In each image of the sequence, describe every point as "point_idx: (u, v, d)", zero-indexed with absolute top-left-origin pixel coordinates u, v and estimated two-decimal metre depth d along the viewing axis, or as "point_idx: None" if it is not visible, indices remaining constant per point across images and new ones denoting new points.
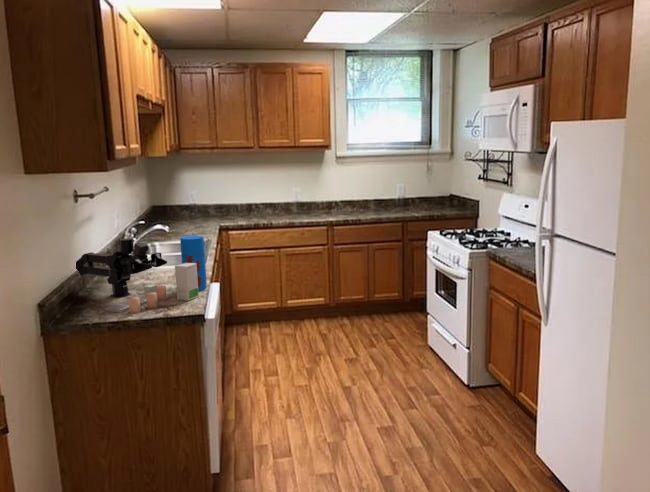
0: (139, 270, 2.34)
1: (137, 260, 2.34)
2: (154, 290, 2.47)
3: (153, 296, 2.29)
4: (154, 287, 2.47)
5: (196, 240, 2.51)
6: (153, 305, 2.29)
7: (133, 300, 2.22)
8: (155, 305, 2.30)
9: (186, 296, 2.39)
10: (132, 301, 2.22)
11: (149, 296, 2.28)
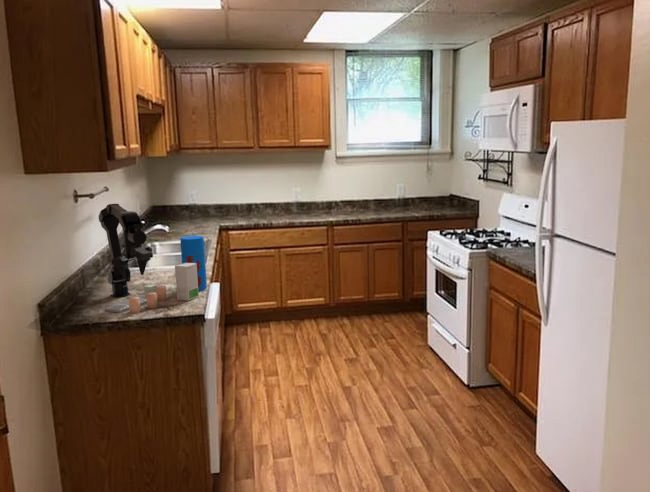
0: (118, 267, 2.28)
1: (126, 266, 2.26)
2: (154, 290, 2.47)
3: (153, 296, 2.29)
4: (154, 287, 2.47)
5: (196, 240, 2.51)
6: (153, 305, 2.29)
7: (133, 300, 2.22)
8: (155, 305, 2.30)
9: (186, 296, 2.39)
10: (132, 301, 2.22)
11: (149, 296, 2.28)
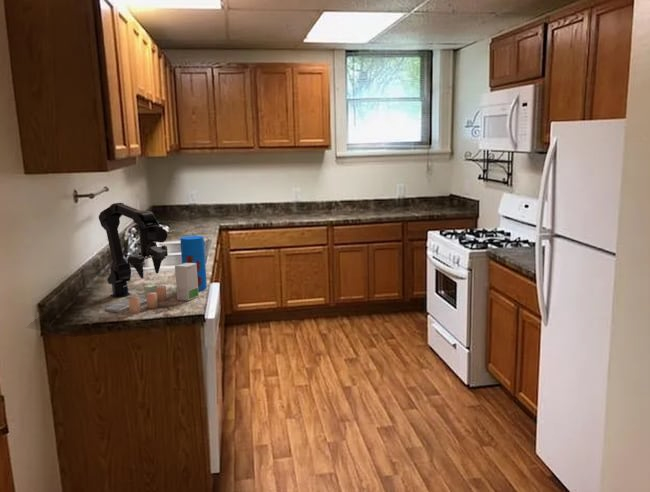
0: (134, 265, 2.31)
1: (142, 264, 2.29)
2: (154, 290, 2.47)
3: (153, 296, 2.29)
4: (154, 287, 2.47)
5: (196, 240, 2.51)
6: (153, 305, 2.29)
7: (133, 300, 2.22)
8: (155, 305, 2.30)
9: (186, 296, 2.39)
10: (132, 301, 2.22)
11: (149, 296, 2.28)
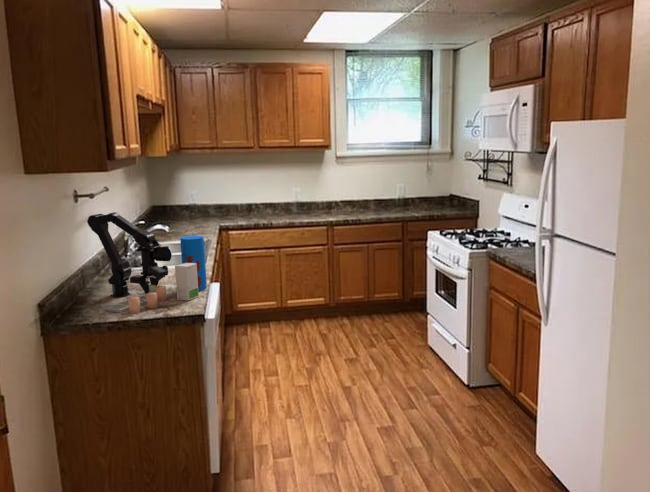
0: (140, 283, 2.44)
1: (148, 283, 2.42)
2: (154, 290, 2.47)
3: (153, 296, 2.29)
4: (154, 287, 2.47)
5: (196, 240, 2.51)
6: (153, 305, 2.29)
7: (133, 300, 2.22)
8: (155, 305, 2.30)
9: (186, 296, 2.39)
10: (132, 301, 2.22)
11: (149, 296, 2.28)
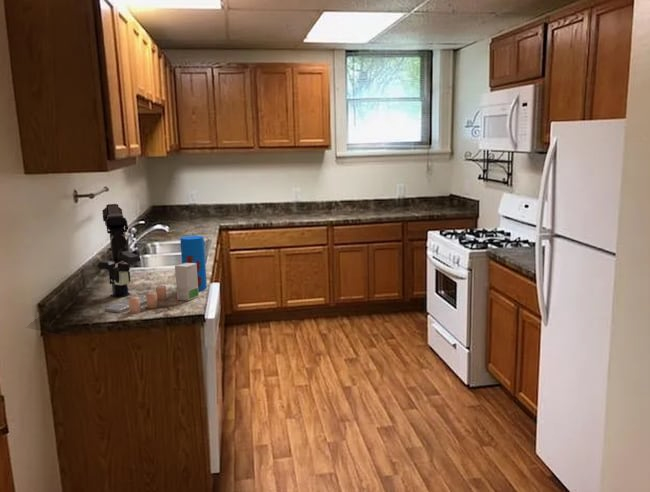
0: (109, 270, 2.26)
1: (117, 268, 2.24)
2: (125, 277, 2.29)
3: (153, 296, 2.29)
4: (125, 274, 2.29)
5: (196, 240, 2.51)
6: (153, 305, 2.29)
7: (133, 300, 2.22)
8: (155, 305, 2.30)
9: (186, 296, 2.39)
10: (132, 301, 2.22)
11: (149, 296, 2.28)
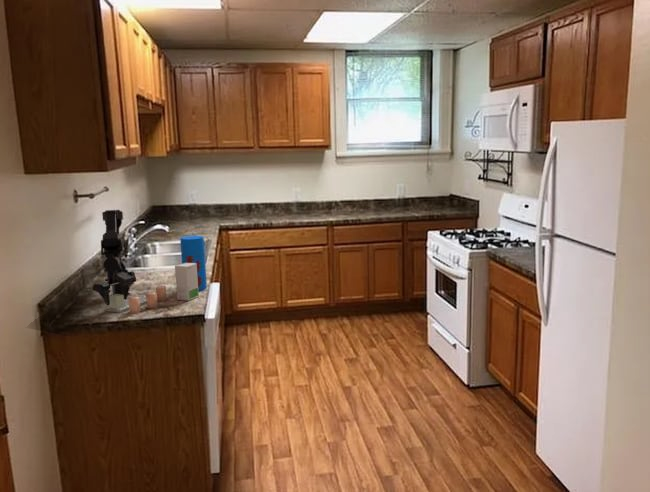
0: (100, 292, 2.23)
1: (108, 292, 2.21)
2: (120, 300, 2.28)
3: (153, 296, 2.29)
4: (120, 297, 2.28)
5: (196, 240, 2.51)
6: (153, 305, 2.29)
7: (133, 300, 2.22)
8: (155, 305, 2.30)
9: (186, 296, 2.39)
10: (132, 301, 2.22)
11: (149, 296, 2.28)
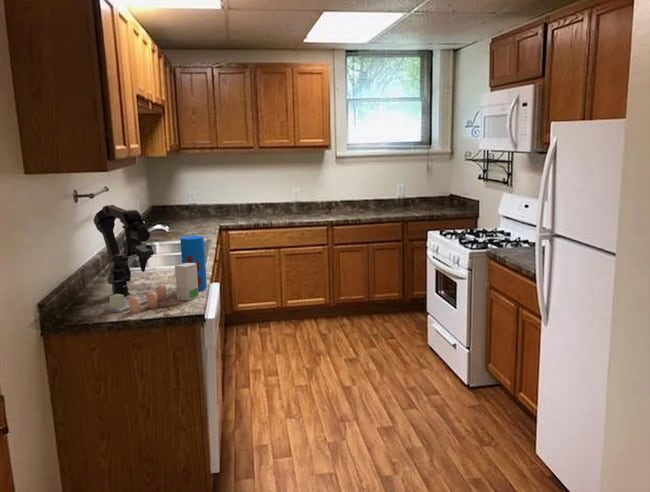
0: (119, 264, 2.33)
1: (126, 263, 2.31)
2: (120, 300, 2.28)
3: (154, 296, 2.29)
4: (120, 297, 2.28)
5: (196, 240, 2.51)
6: (154, 305, 2.29)
7: (133, 300, 2.22)
8: (156, 305, 2.30)
9: (186, 296, 2.39)
10: (132, 301, 2.22)
11: (150, 296, 2.28)
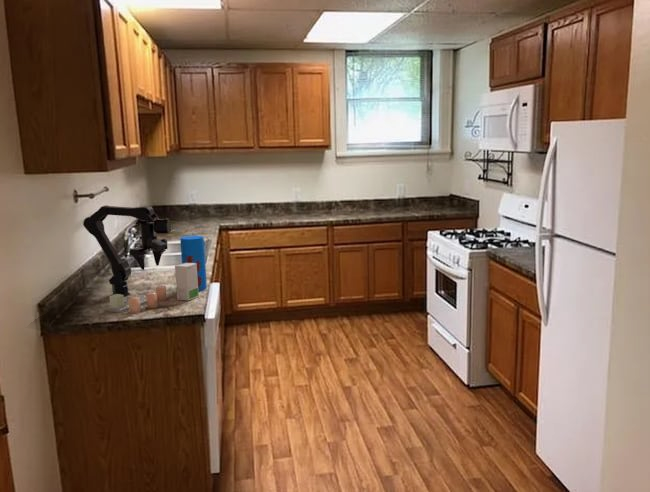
0: (136, 258, 2.42)
1: (143, 256, 2.40)
2: (120, 300, 2.28)
3: (154, 296, 2.29)
4: (120, 297, 2.28)
5: (196, 240, 2.51)
6: (154, 305, 2.29)
7: (133, 300, 2.22)
8: (156, 304, 2.30)
9: (186, 296, 2.39)
10: (132, 301, 2.22)
11: (150, 296, 2.28)
